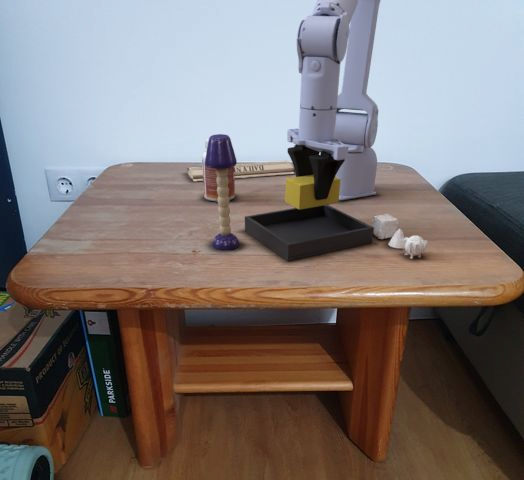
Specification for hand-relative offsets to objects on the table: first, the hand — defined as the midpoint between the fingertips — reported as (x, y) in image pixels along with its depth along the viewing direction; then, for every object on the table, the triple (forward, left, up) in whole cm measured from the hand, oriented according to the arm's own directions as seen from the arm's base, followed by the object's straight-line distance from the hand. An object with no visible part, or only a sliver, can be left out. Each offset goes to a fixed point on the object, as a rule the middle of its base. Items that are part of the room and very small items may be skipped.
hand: (312, 194), depth 90 cm
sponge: (0, 0, -1) cm, 1 cm away
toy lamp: (+17, +1, -6) cm, 18 cm away
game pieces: (-8, +14, -6) cm, 17 cm away
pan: (+3, +4, -6) cm, 7 cm away
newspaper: (-5, -36, -6) cm, 37 cm away
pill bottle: (+7, -22, -6) cm, 24 cm away
